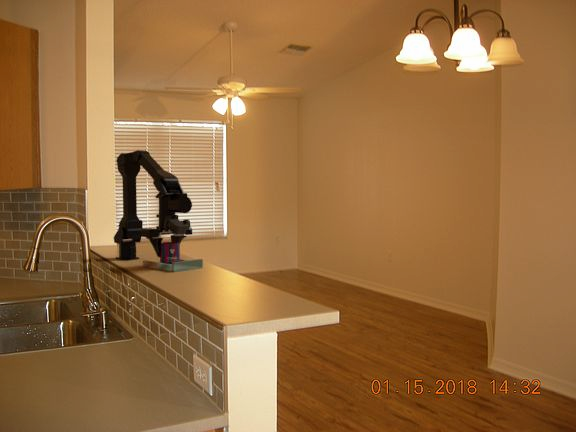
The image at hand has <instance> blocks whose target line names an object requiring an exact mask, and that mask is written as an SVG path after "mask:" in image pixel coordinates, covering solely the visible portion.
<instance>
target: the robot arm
mask: <svg viewBox="0 0 576 432" xmlns="http://www.w3.org/2000/svg"><path fill="white" fill-rule="evenodd" d="M116 165H117V172H119V174H120V176H121V178H122V179H121V180H122V211H123V213H122V217H121V219H120V221H119V222H118V230H116V232H115V234H114V236H113V242H114V244H118V256H115V260H116V259H117V260H123V261H129V260H138V259H139V260H140V257H139V256H137V243H141V241H142V238H146V239H147V240H148V241H149V242H150V244H151V245H152V247H153V250H154V251H155V254H156V256H157V257H158V258H160V257H161V243H162V242H163V240H164V237H161V236H162V235H170V242H179V243H180V244H181V242H183V240H184V239H185V238H187V237H188V236H189V235H193V228H192V227H191V220H189V219H183V220H179V215H178V214H177V213H179V214H188V213H189V212H190V211H191V210H192V208H193V202H192V200H191V198H190V197H188V193H187V192H184V189H183V188H182V186H181V183H180V180H179V178H178V177H177V176H176V175H174V174H173V173H172V172H169V171H166V170H164V168H163V167H162V166H161V165H160V164H159V163H158V162H157V161H156V160H155V159H154V157H152V155H151V153H150V152H149V151H147V150H140V149H137V150H134V151H132V152H131V151H130V152H127V153H125V152H122V153H120V154H119V155H118V156H117V158H116ZM141 167H142V169H144V171H146V173H147V174H148V175H149V176H150V177H151V178H152V180H153V181H152V183H153V186H154V187H155V189H156V191H158V193H157V194H156V195H155V197H154V198H155V199H158V214H156V215H155V216H156V218H158V225H156V226H155V227H156V228H154V227H147V228H143V223H144V222H143V220H142V219H140V218H139V217H138V212H137V211H138V210H137V207H138V206H137V205H138V204H137V197H138V196H137V176H138V175H139V173H140V172H141Z"/></svg>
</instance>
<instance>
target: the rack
mask: <svg viewBox="0 0 576 432" xmlns="http://www.w3.org/2000/svg"><path fill="white" fill-rule="evenodd" d="M203 264H204V262H203V258H199V259H197V258H196V259H185V258H180V262H172V264H164V263H160V262H159V261H158V262H157V261H151V260H142V267H144V268H151V269H155V270H161V271H166V272H172V273H177V272H183V271H184V272H185V271H192V270H197V269H203V267H204V266H203Z"/></svg>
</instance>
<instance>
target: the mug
mask: <svg viewBox="0 0 576 432" xmlns="http://www.w3.org/2000/svg"><path fill="white" fill-rule="evenodd" d="M180 248H181V243H179V242H171V241H162V242H161V257H159V263H164V264H171V265H172V262H180V259H181V256H180V255H181V253H180V252H181V249H180Z"/></svg>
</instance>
